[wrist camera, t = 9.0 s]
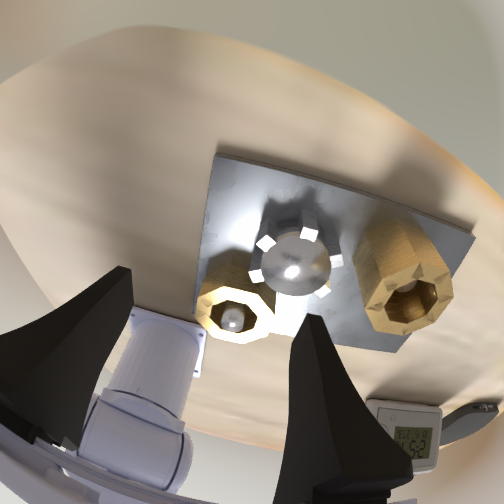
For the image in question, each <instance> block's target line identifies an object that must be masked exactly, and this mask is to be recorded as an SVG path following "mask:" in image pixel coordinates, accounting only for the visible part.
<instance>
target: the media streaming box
mask: <svg viewBox="0 0 504 504" xmlns="http://www.w3.org/2000/svg"><path fill="white" fill-rule="evenodd" d="M498 413H499V410H498V407H497V403H472V404H469V405H466V406H463V407H461V408H459V409H457V410H455V411H454V412H452V413H451V414H449V415H448V416H446V417H445V418H443V419H442V427H441V436H440V444H439V446H442V445H446V444H449V443H452V442H454V441H457V440H459V439H462V438H465V437H467V436H469V435H471V434H473V433H475V432H476V431H478V430H480V429H481V428H483V427H484V426H485V425H487V424H488V423H489V422H490V421H491V420H493V419H494V418H495V417H496V415H497V414H498Z"/></svg>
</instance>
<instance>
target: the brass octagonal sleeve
mask: <svg viewBox="0 0 504 504" xmlns="http://www.w3.org/2000/svg"><path fill="white" fill-rule="evenodd" d="M352 260H353V264H354V268H355V272H356V276H357V280H358V284H359V288H360V292H361V296H362V300H363V305H364V309H365V311H366V313H367V315H368V317H369V319H370V321H371V323H372V325H373V327H374V330H375V331H378V332H384V333H390V334H396V335H403V336H404V335H407V334H409V333H411V332H414V331H416V330H418V329H421V328H423V327H425V326H428V325H430V324H432V323H434V322H435V321H436V320H437V319H438V317H439V316H440V315H441V314H442V312H443V311H444V310H445V308H446V307H447V305H448V304H449V303H450V301H451V300H452V299H453V297H454V295H453V288H452V282H451V276H450V271H449V269H448V267H447V266H446V264H445V262H444V261H443V259H442V258H441V256H440V254H439V253H438V251H437V250H436V248H435V246H434V245H433V243H432V242H431V240H430V239H429V237H428V236H427V234H426V233H425V231H424V230H423V228H422V227H420V226H417V225H414V224H411V223H409V222H406V221H403V220H400V219H397V218H393V219H391V220H389V221H387V222H385V223H383V224H381V225H378V226H376V227H374V228H372V229H370V230H368V231H366V232H365V233H364V235H363V237H362V239H361V241H360V243H359V246H358V248H357V250H356V252H355V254H354V256H353V258H352ZM416 279H417V282H416V284H415V286H414V287H413V288H412V289H411V290H409V291H407V292H398V291H397V290H396V288H399V287H401V286H403V285H405V284H408V283H410V282H412V281H414V280H416Z"/></svg>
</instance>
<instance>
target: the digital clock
mask: <svg viewBox="0 0 504 504" xmlns="http://www.w3.org/2000/svg"><path fill="white" fill-rule="evenodd" d="M365 404H366V406H367V407H368V409H369V410H370V412H371V413H372V414H373V416H374V417H375V418H376V419H377V421H378V422H379V423H380V425H381V426H382V427H383V428H384V430H385V431H386V432H387V433H388V434H389V435H390V436H391V437H392V439H393V440H394V441H395V442H396V443H397V444H398V445H399V446H400V447H401V448H402V449H403V450H404V451H406V452H407V453H408V454H409V455H410V456H411V459H412V465H413V475H415V474H421V473H428V472H431V471H432V470H433V469H434V468H435V467H436V464H437V458H438V452H439V444H440V436H441V427H442V409H441V408H439V407H437V406H427V404H418V403H409V402H401V401H394V400H385V401H383V400H377V399H370V400H367V401H366V402H365Z"/></svg>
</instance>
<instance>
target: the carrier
mask: <svg viewBox="0 0 504 504" xmlns="http://www.w3.org/2000/svg"><path fill="white" fill-rule="evenodd" d="M393 218H397V219H400V220H403V221H406V222H409V223H411V224H414V225H417V226H420V227H422V228H423V230H424V231H425V233H426V234H427V236H428V237H429V239H430V240H431V242H432V243H433V245H434V246H435V248H436V250H437V251H438V253H439V254H440V256H441V258H442V259H443V261H444V262H445V264H446V266H447V267H448V269H449V271H450V276H451V278H452V277H453V275H454V274H455V272H456V271H457V269H458V267H459V266H460V264H461V263H462V261H463V259H464V258H465V256H466V254H467V253H468V251H469V249H470V247H471V246H472V244H473V242H474V240H475V239H476V237H475V236H474V235H473V234H472V232H469V231H467V230H465V229H463V228H460V227H458V226H455V225H453V224H451V223H448V222H446V221H443V220H441V219H438V218H436V217H433V216H431V215H428V214H426V213H423V212H420V211H418V210H415V209H412V208H410V207H407V206H404V205H402V204H399V203H396V202H393V201H390V200H387V199H385V198H382V197H379V196H376V195H373V194H370V193H367V192H364V191H361V190H358V189H354V188H351V187H348V186H345V185H342V184H338V183H335V182H332V181H328V180H325V179H321V178H318V177H315V176H311V175H307V174H304V173H300V172H296V171H293V170H289V169H285V168H281V167H277V166H273V165H269V164H265V163H261V162H257V161H253V160H248V159H244V158H239V157H235V156H230V155H226V154H221V153H216V155H215V156H214V160H213V166H212V172H211V178H210V184H209V191H208V197H207V203H206V210H205V217H204V224H203V231H202V238H201V245H200V253H199V261H198V269H197V277H196V285H195V294H194V303H193V312H192V313H193V314H196V315H195V319H196V320H197V321H198V322H199V323H200V324H201V325H202V326H203V327H204V328H205V329H206V330H207V331H208V332H209V333H210V334H211V335H212V336H213V337H216V338H220V339H224V340H228V341H233V342H237V343H246V342H249V341H252V340H255V339H258V338H261V337H265V336H267V334H268V332H274V333H278V334H283V335H288V336H293V337H295V336H296V334H297V332H298V330H299V328H300V326H301V324H302V322H303V320H304V318H305V316H306V314H307V313H310V314H315V315H320V316H322V317H323V320H324V322H325V324H326V327H327V329H328V332H329V334H330V337H331V339H332V341H333V344H337V345H343V346H350V347H356V348H363V349H369V350H376V351H384V352H391V353H396V352H397V351H398V349H399V348H400V347H401V346H402V345H403V343H404V342H405V341H406V340H407V339H408V337H409V336H410V335H411V334H412V332H411V333H409V334H407V335H404V336H403V335H396V334H390V333H384V332H378V331H375V330H374V327H373V325H372V323H371V321H370V319H369V317H368V315H367V313H366V311H365V309H364V305H363V300H362V296H361V292H360V288H359V284H358V280H357V276H356V272H355V268H354V264H353V260H352V258H353V256H354V254H355V252H356V250H357V248H358V246H359V243H360V241H361V239H362V237H363V235H364V233H365V232H366V231H368V230H370V229H372V228H374V227H376V226H378V225H381V224H383V223H385V222H387V221H389V220H391V219H393ZM416 282H417V279H416V280H414V281H412V282H410V283H408V284H405V285H403V286H401V287H399V288H396V290H397V291H398V292H407V291H409V290H411V289H412V288H413V287H414V286H415V284H416Z"/></svg>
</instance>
